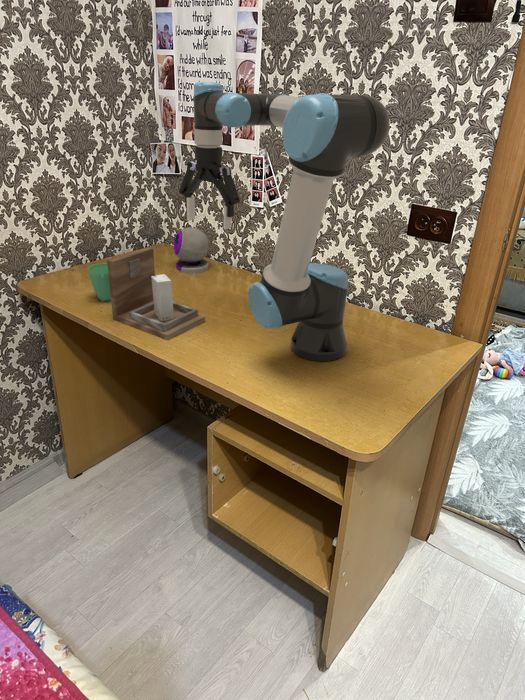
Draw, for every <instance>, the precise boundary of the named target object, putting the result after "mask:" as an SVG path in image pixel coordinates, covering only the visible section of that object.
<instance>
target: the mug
mask: <svg viewBox="0 0 525 700" xmlns="http://www.w3.org/2000/svg"><path fill="white" fill-rule="evenodd" d="M87 273H88V276H89V279H90V282H91V284H92V287H93V289H94V292H95V294H96V295H97V298H98V299H99V301H102V302H108V301H109V300H110V301H111V295H110V285H109V275H108V265H107V262H106V263H104V262H103V263H98V264H97V263H95V264H92V265H90V266H89V267H88V268H87Z"/></svg>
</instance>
